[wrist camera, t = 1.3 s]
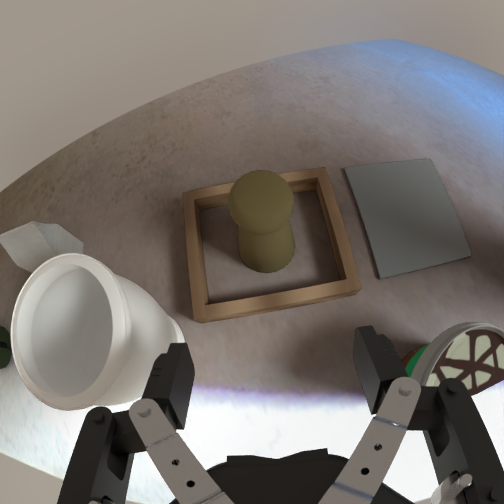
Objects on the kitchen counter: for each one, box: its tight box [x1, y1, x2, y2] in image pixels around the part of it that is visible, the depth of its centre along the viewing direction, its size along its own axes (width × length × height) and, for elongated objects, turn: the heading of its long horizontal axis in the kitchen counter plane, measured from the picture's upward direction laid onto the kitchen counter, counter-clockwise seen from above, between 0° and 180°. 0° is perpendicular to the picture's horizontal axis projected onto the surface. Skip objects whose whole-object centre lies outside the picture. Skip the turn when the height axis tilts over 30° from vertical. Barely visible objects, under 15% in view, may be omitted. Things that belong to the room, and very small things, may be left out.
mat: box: [344, 159, 472, 279], centre depth 33 cm, size 13×14×1 cm
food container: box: [401, 322, 504, 396], centre depth 22 cm, size 12×6×10 cm, turn 97°
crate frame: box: [183, 167, 362, 323], centre depth 32 cm, size 16×14×2 cm
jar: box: [11, 253, 185, 411], centre depth 23 cm, size 11×10×15 cm
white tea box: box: [0, 221, 83, 273], centre depth 30 cm, size 4×7×10 cm, turn 101°
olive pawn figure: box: [228, 170, 295, 273], centre depth 28 cm, size 6×6×11 cm
